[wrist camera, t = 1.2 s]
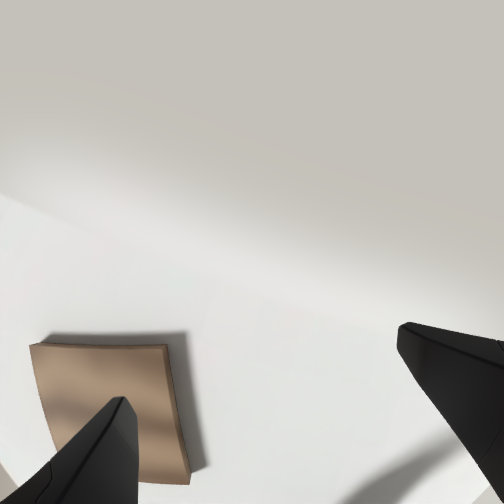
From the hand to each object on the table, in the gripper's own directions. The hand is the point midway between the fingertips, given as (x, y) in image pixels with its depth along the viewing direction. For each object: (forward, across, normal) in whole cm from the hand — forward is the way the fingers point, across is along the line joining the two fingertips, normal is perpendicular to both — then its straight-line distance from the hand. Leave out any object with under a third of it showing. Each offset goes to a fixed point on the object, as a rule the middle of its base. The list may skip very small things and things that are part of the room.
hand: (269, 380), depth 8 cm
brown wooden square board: (+12, +15, +12) cm, 23 cm away
